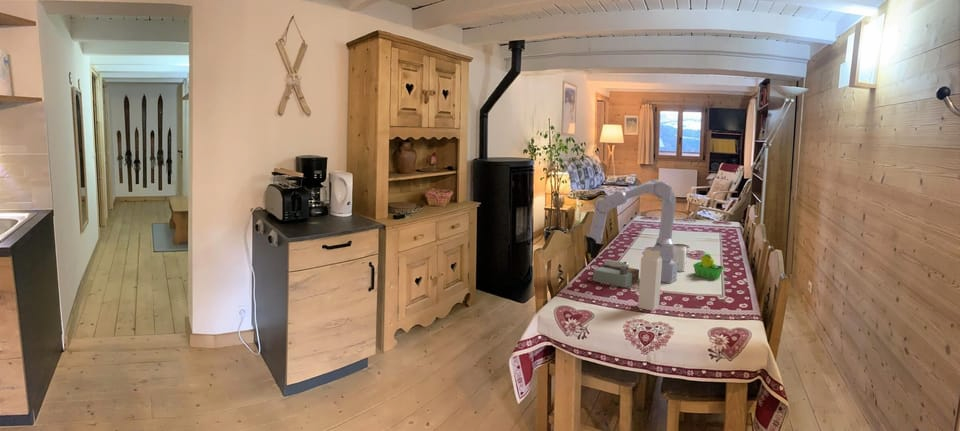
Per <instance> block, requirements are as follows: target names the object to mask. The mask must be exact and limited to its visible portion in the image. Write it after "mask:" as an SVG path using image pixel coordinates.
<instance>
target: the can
mask: <svg viewBox="0 0 960 431" xmlns="http://www.w3.org/2000/svg"><path fill="white" fill-rule="evenodd" d="M686 246H687V245H686V244H684V243H683V244H682V243H673V251H674V257H673V259H672V261H673V262H676V263H677V273H681V272H685V271H686V262H687V261H686V260H687V247H686Z"/></svg>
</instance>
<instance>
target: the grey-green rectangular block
mask: <svg viewBox="0 0 960 431" xmlns="http://www.w3.org/2000/svg"><path fill="white" fill-rule="evenodd" d="M628 268H629V267H628ZM628 268H626V267H623V268H621V269H620V270H614V269H609V268H604V267H601V266H599V267H597V268H594V269H593V272H592V281H593V282H596V281H597V283H601V282H602V284H605V283H608V284H607V285H610V284H611V285H610V286H615V285H616V286H615V287H619V286H621V287H620V288H624V287H626V288H628V287H629V285H630V286H632V285H633V284H632V273H630V272H627V269H628ZM627 286H628V287H627Z"/></svg>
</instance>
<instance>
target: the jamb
mask: <svg viewBox="0 0 960 431" xmlns="http://www.w3.org/2000/svg"><path fill="white" fill-rule="evenodd" d="M600 267H604V268H609V269H614V270H620V269H621V268H620V267H615V266H609V265H604V264H603V265H601V266H600ZM627 272H630V273H632V284H631V285H634V284H635V283H637V282H639V281H640V269H638V268H633V267H628V269H627ZM638 280H639V281H638Z"/></svg>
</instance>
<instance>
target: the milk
mask: <svg viewBox="0 0 960 431" xmlns="http://www.w3.org/2000/svg"><path fill="white" fill-rule="evenodd" d="M643 252H644V253H643V254H642V257H641V258H640V259H641V260H640V269H639V286H638V303H637V308H638V309H642V310H647V311H651V312H654V311H656V310H657V309H658V308H660V299H661V298H660V296H661V283H662V282H661V271H662V257H661V256H660V252H659V251H653V249H652V250H651V249H644V251H643Z"/></svg>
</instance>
